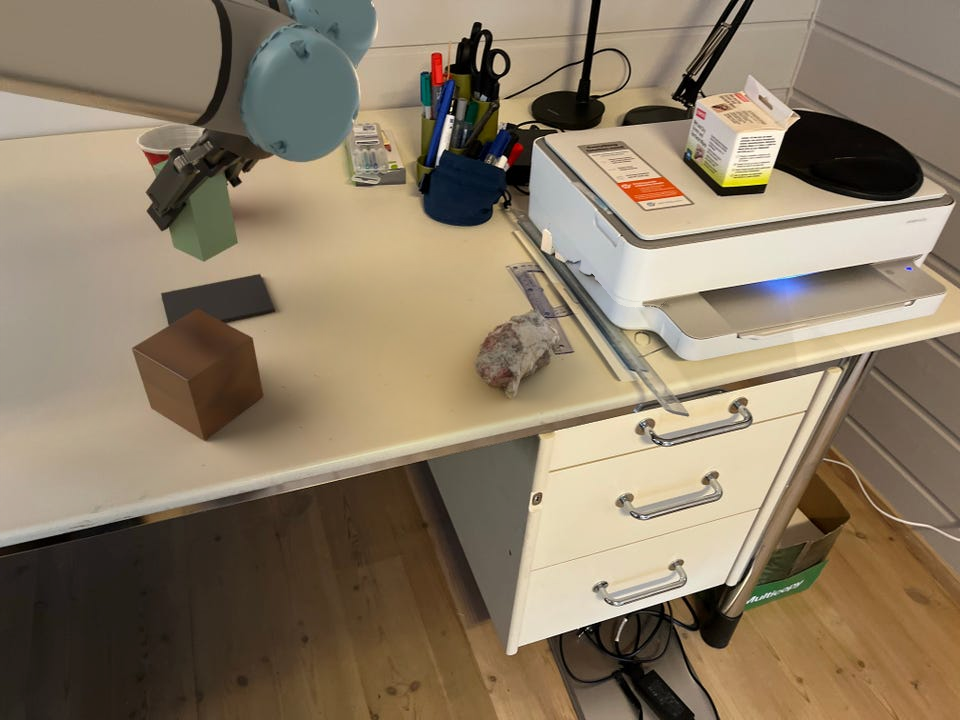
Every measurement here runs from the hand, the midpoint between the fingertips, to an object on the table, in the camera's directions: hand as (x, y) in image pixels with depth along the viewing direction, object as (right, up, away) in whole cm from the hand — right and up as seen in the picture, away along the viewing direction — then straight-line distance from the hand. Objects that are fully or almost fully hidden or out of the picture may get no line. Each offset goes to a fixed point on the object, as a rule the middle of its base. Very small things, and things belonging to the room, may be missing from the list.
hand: (177, 209), depth 85 cm
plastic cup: (-6, +4, +22) cm, 23 cm away
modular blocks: (+51, -5, +16) cm, 54 cm away
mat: (+2, -10, +6) cm, 12 cm away
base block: (+6, -22, -7) cm, 23 cm away
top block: (+3, -4, +1) cm, 5 cm away
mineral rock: (+38, -17, +1) cm, 42 cm away
